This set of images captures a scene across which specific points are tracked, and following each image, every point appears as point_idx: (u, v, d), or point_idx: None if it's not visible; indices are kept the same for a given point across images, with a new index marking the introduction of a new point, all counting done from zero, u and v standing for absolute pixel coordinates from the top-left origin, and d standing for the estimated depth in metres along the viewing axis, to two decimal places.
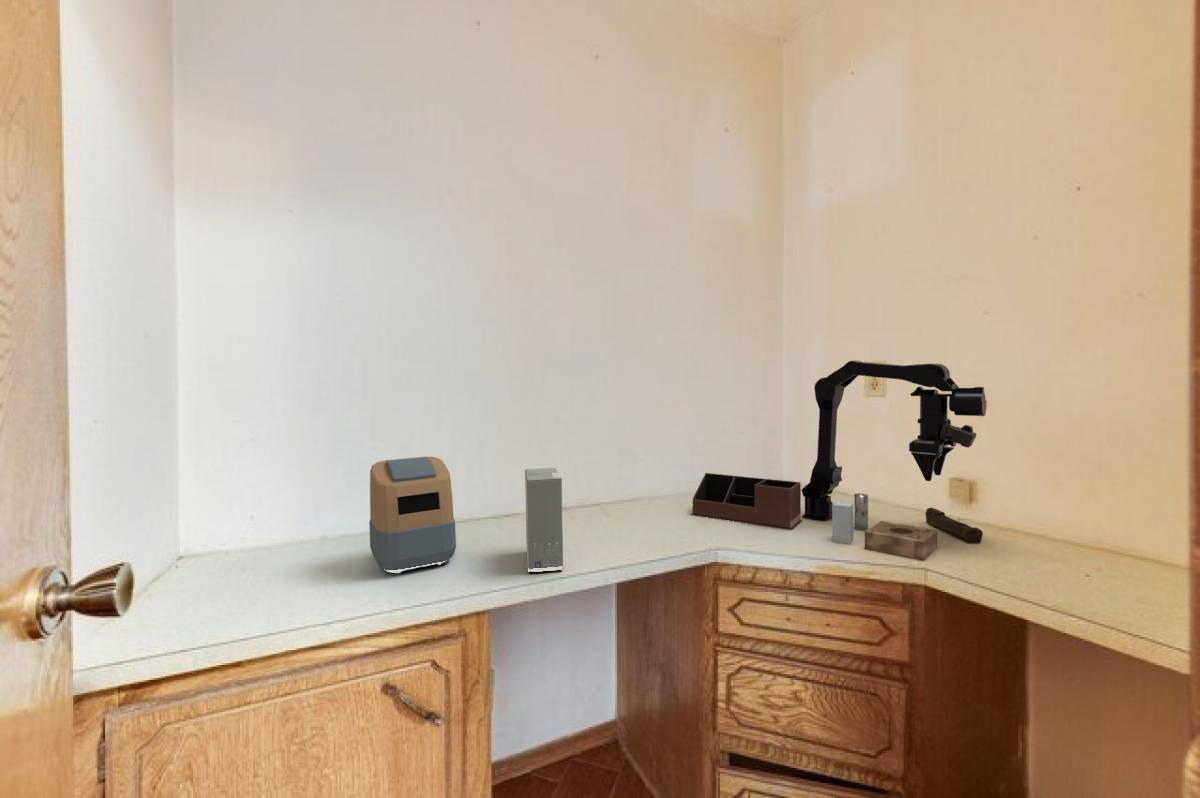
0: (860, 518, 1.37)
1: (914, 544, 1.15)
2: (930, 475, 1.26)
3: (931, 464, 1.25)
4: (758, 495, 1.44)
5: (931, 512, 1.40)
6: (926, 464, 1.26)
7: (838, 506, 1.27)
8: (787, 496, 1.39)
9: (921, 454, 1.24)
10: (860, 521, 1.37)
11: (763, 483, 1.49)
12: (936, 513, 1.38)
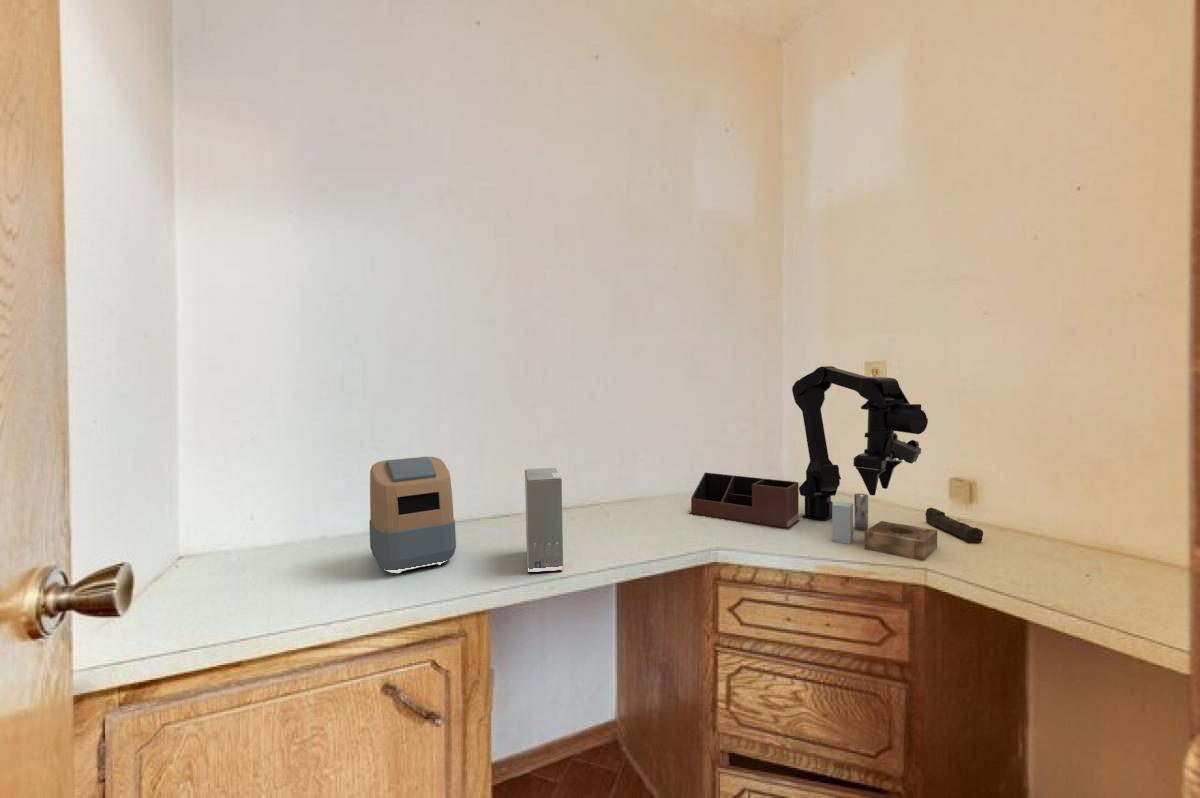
0: (860, 518, 1.37)
1: (914, 544, 1.15)
2: (874, 490, 1.26)
3: (875, 479, 1.25)
4: (755, 495, 1.44)
5: (931, 512, 1.40)
6: (870, 479, 1.26)
7: (838, 506, 1.27)
8: (784, 495, 1.39)
9: (865, 469, 1.25)
10: (860, 521, 1.37)
11: (761, 483, 1.49)
12: (936, 514, 1.38)
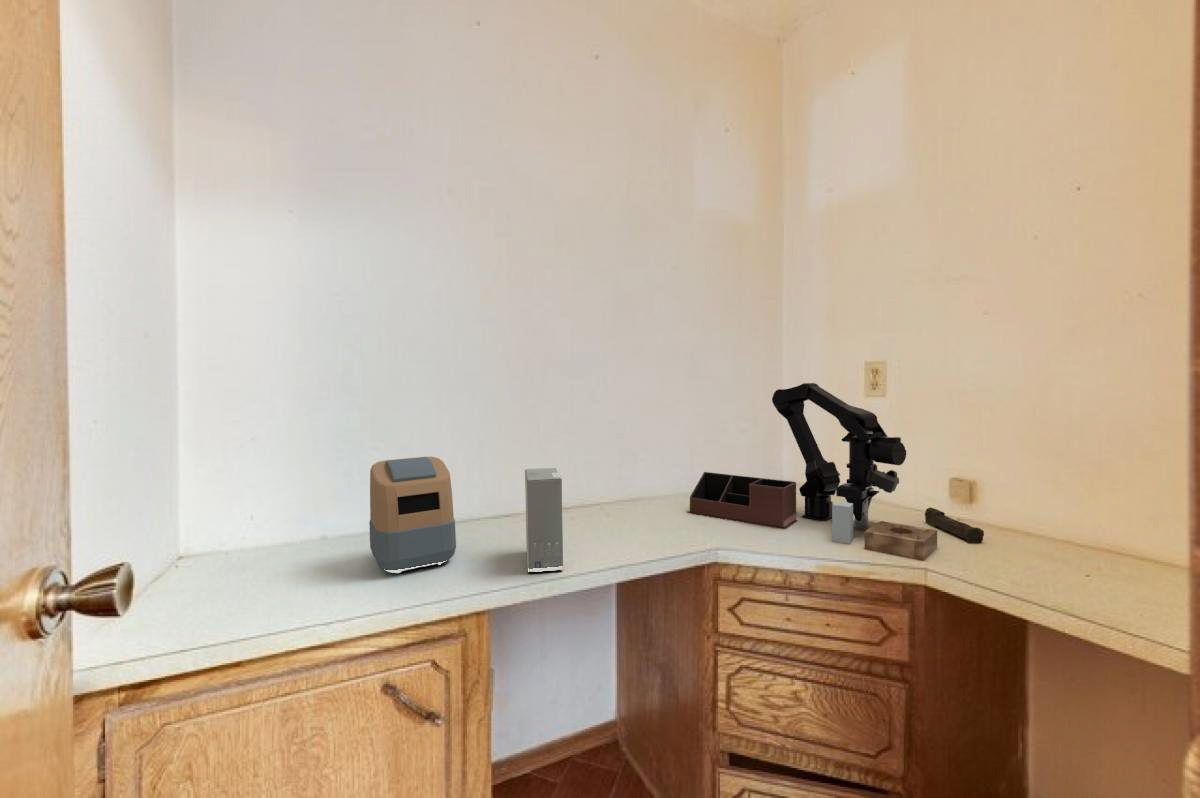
0: None
1: (914, 544, 1.15)
2: (860, 515, 1.36)
3: (860, 506, 1.35)
4: (752, 494, 1.45)
5: (931, 512, 1.40)
6: (856, 505, 1.36)
7: (838, 506, 1.27)
8: (780, 495, 1.40)
9: None
10: (860, 521, 1.37)
11: (759, 482, 1.50)
12: (935, 513, 1.38)
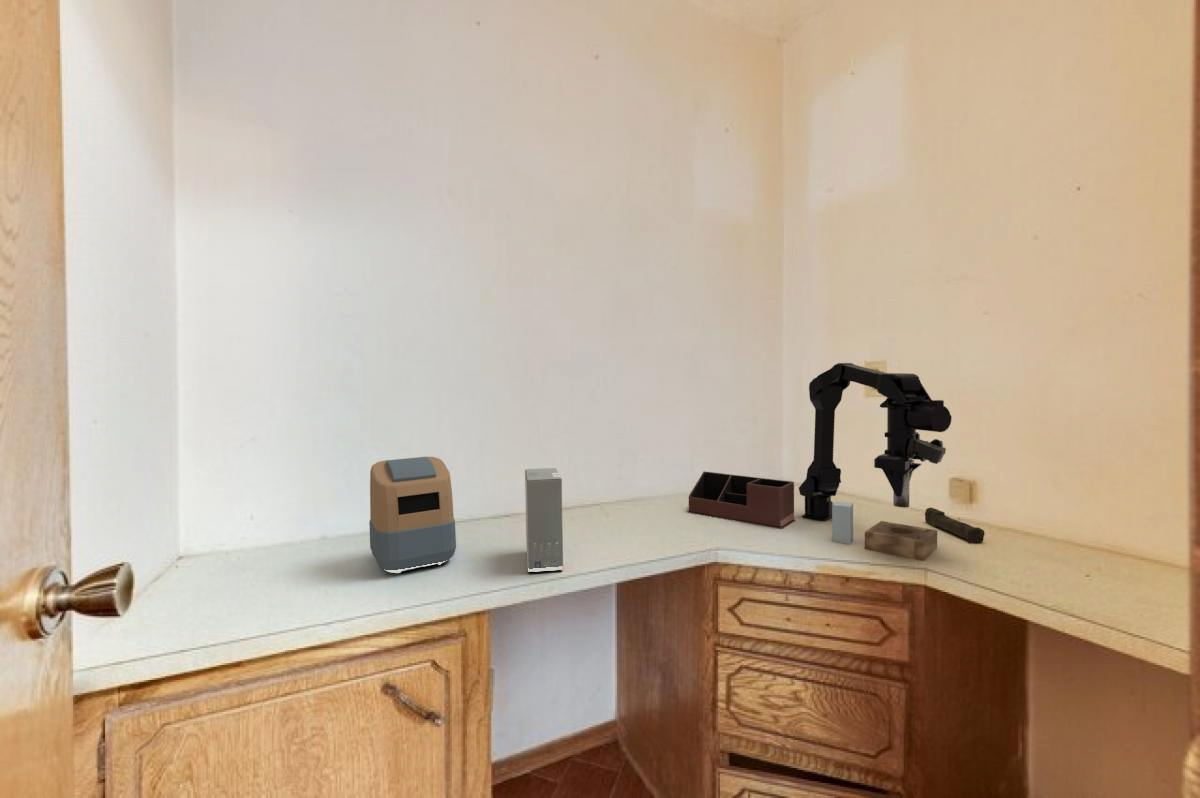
0: None
1: (914, 544, 1.15)
2: (900, 490, 1.20)
3: (901, 479, 1.19)
4: (750, 494, 1.45)
5: (931, 512, 1.40)
6: (896, 479, 1.20)
7: (838, 506, 1.27)
8: (777, 495, 1.40)
9: (891, 469, 1.19)
10: None
11: (757, 482, 1.50)
12: (936, 513, 1.38)
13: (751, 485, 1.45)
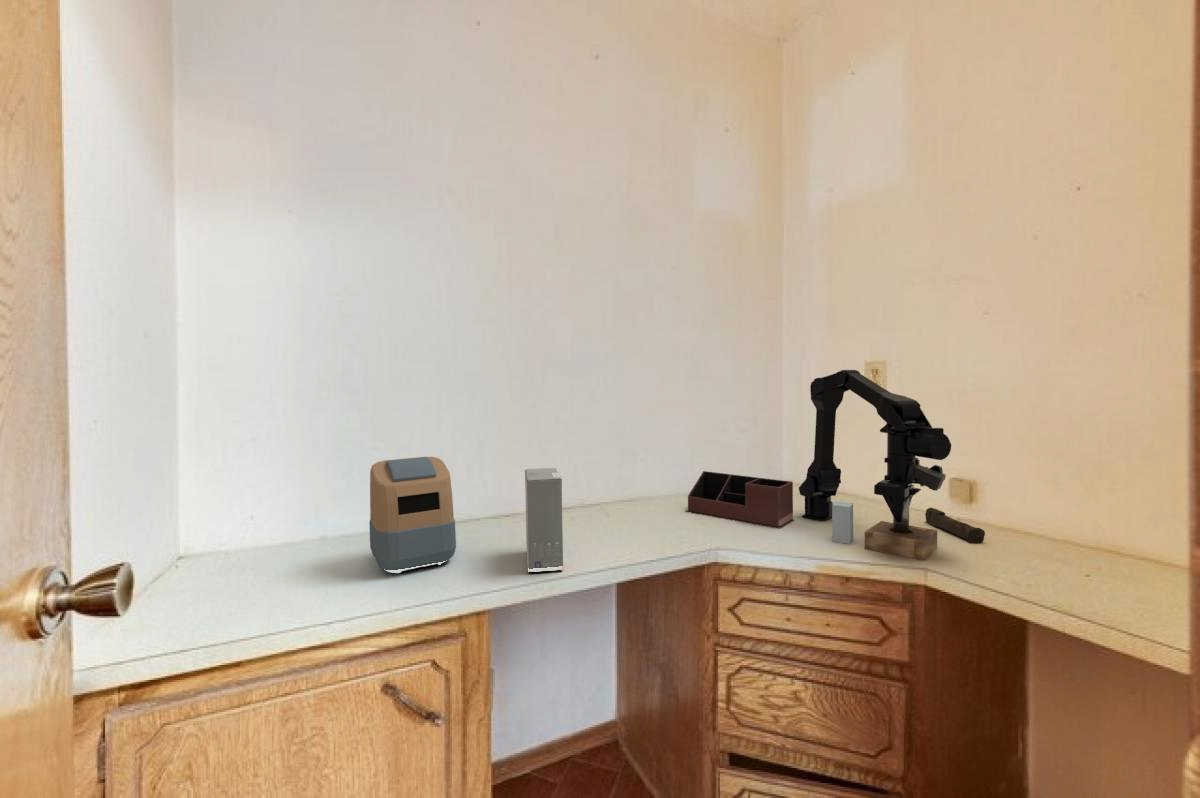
0: None
1: (914, 544, 1.15)
2: (900, 516, 1.21)
3: (901, 505, 1.20)
4: (748, 493, 1.46)
5: (931, 512, 1.40)
6: (896, 505, 1.20)
7: (838, 506, 1.27)
8: (775, 495, 1.41)
9: None
10: (900, 522, 1.21)
11: (756, 482, 1.50)
12: (936, 513, 1.38)
13: (749, 485, 1.45)
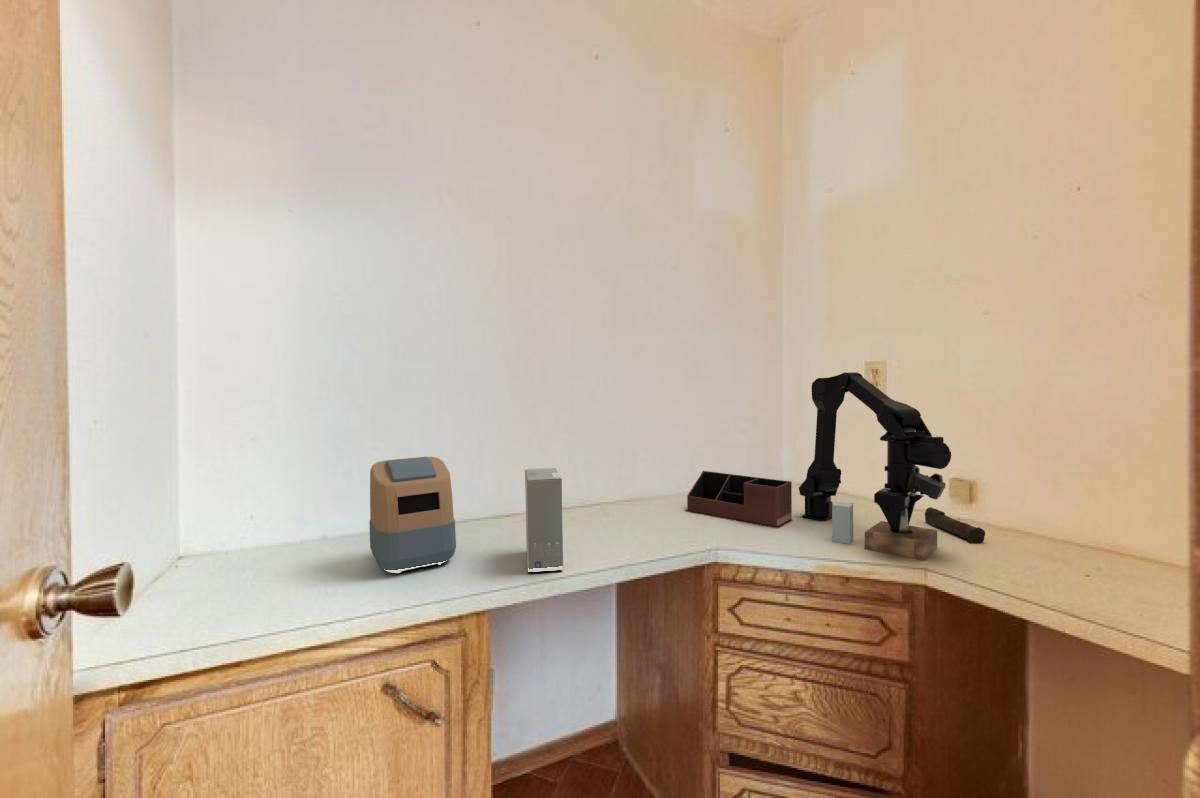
0: None
1: (914, 544, 1.15)
2: (897, 527, 1.19)
3: (898, 516, 1.18)
4: (747, 493, 1.46)
5: (931, 512, 1.40)
6: (893, 515, 1.19)
7: (838, 506, 1.27)
8: (773, 494, 1.41)
9: (887, 505, 1.18)
10: None
11: (755, 482, 1.51)
12: (936, 513, 1.38)
13: (748, 484, 1.46)
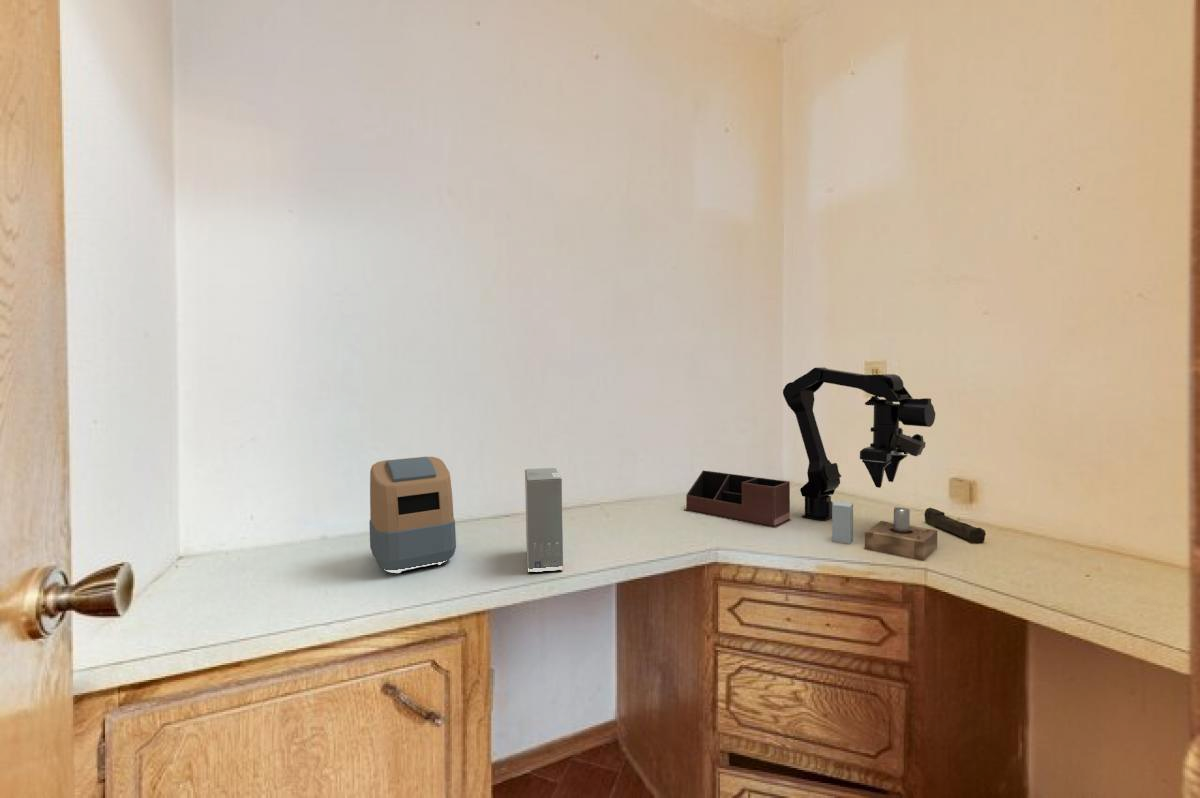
0: None
1: (914, 544, 1.15)
2: (880, 482, 1.31)
3: (880, 471, 1.30)
4: (745, 493, 1.47)
5: (931, 512, 1.40)
6: (876, 471, 1.31)
7: (838, 506, 1.27)
8: (771, 494, 1.41)
9: (871, 462, 1.29)
10: None
11: (753, 481, 1.51)
12: (936, 514, 1.38)
13: (746, 484, 1.46)
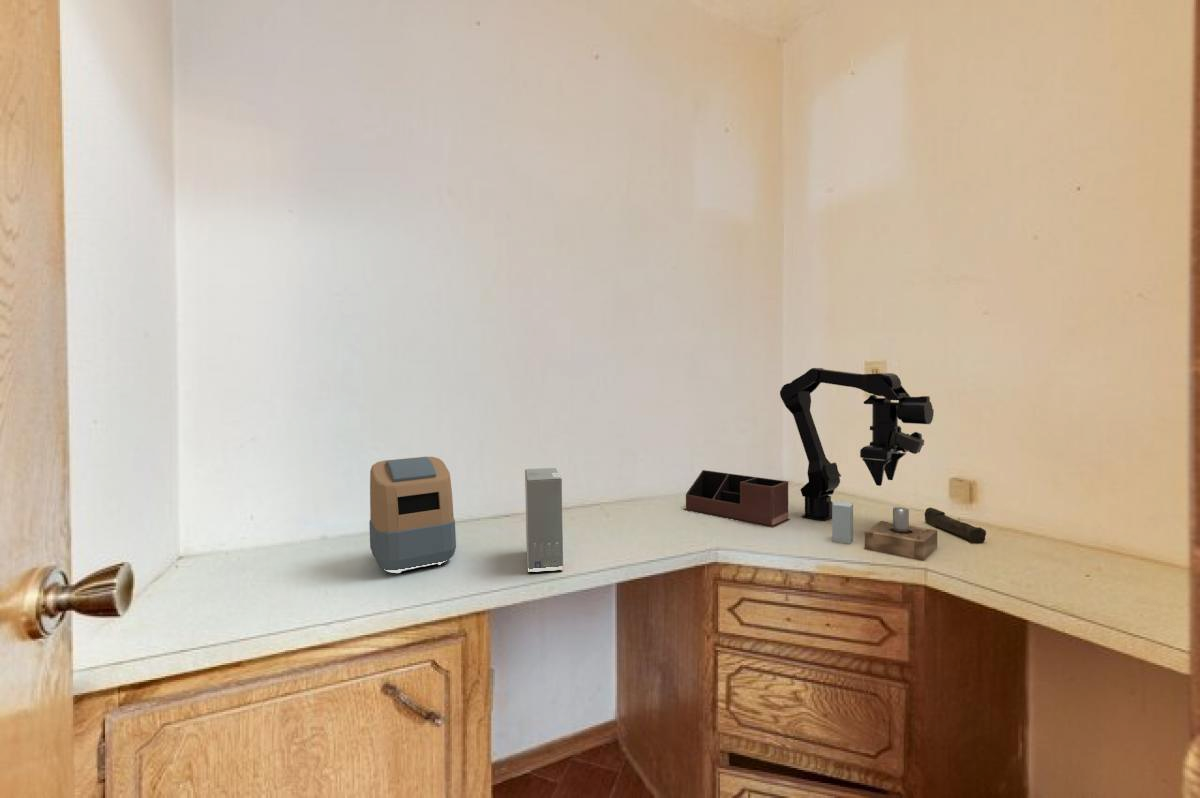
0: None
1: (914, 544, 1.15)
2: (880, 480, 1.32)
3: (881, 469, 1.31)
4: (743, 492, 1.47)
5: (931, 512, 1.40)
6: (876, 469, 1.32)
7: (838, 506, 1.27)
8: (769, 494, 1.42)
9: (871, 460, 1.30)
10: None
11: (752, 481, 1.52)
12: (936, 513, 1.38)
13: (744, 484, 1.47)
